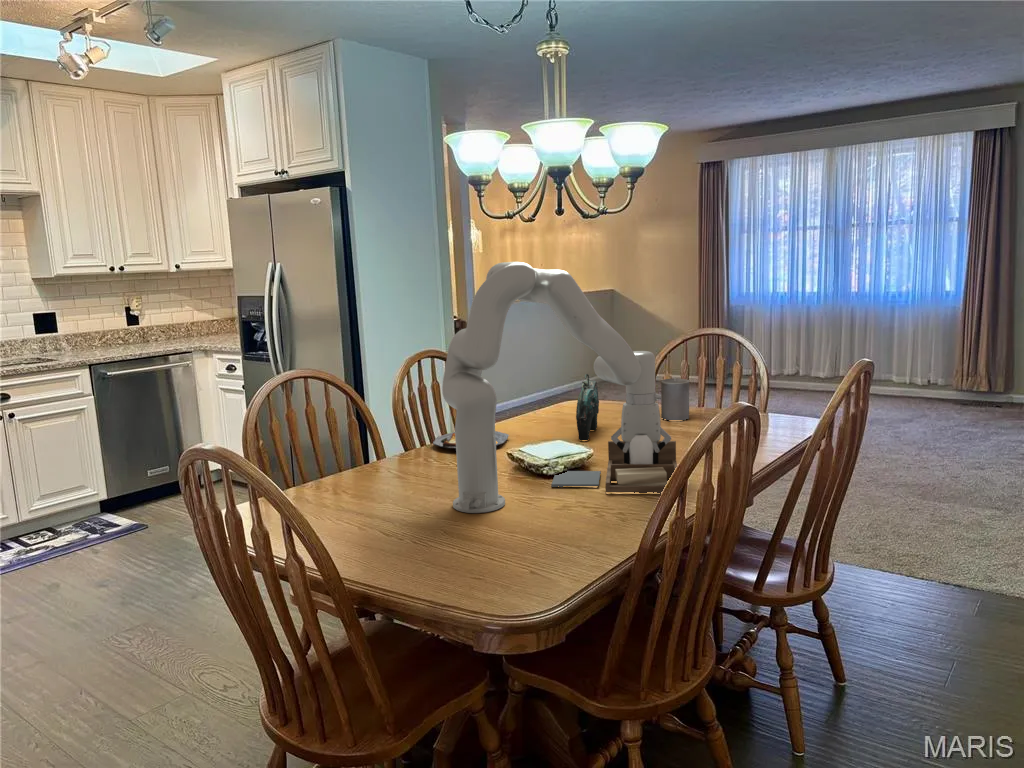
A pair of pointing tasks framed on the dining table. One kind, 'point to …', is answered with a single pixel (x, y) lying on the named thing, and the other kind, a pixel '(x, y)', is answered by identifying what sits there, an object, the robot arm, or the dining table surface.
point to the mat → (577, 478)
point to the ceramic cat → (587, 408)
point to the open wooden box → (617, 462)
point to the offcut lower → (645, 484)
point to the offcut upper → (641, 475)
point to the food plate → (450, 442)
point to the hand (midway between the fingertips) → (641, 465)
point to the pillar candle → (675, 399)
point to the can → (641, 450)
